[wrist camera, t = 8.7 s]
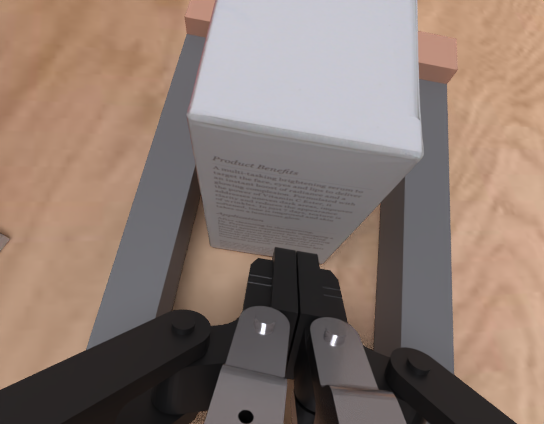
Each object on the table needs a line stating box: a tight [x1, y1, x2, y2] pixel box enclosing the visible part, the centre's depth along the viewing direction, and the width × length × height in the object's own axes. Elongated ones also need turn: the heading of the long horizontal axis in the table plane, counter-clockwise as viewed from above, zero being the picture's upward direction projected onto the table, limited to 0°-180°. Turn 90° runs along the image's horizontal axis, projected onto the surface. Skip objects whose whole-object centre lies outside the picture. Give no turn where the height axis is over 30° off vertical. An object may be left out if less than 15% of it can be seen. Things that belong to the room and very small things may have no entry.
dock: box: [86, 0, 458, 424], centre depth 17 cm, size 13×18×4 cm
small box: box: [187, 0, 424, 264], centre depth 15 cm, size 8×6×10 cm
